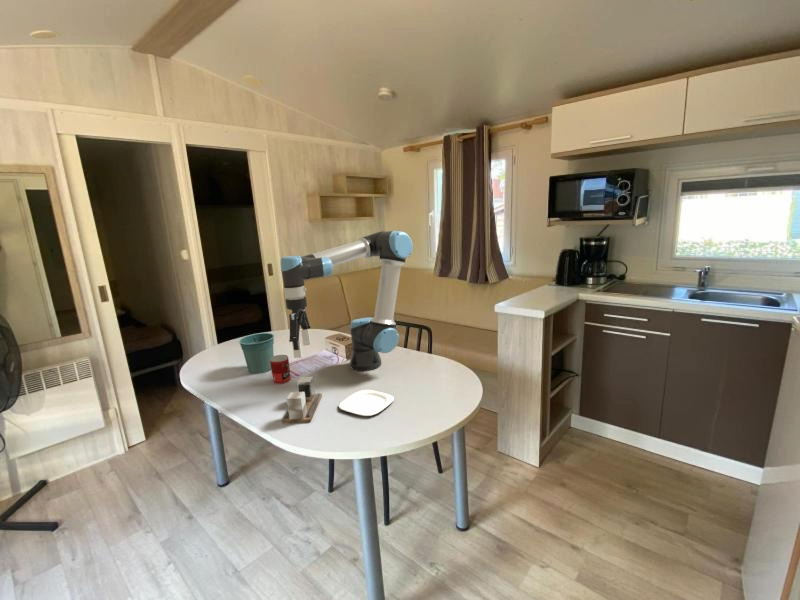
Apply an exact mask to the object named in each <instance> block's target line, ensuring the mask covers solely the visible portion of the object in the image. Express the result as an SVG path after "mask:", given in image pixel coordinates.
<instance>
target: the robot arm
mask: <svg viewBox="0 0 800 600" xmlns="http://www.w3.org/2000/svg"><path fill="white" fill-rule="evenodd" d="M413 248H414V247H413V240H412V239H411V237H410V236H409V235H408V233H406V232H404V231H399V230H390V231H388V230H385V231H383V230H382V231H377V232H374V233H371V234H369V235H365V236H363V237H359V238H358V239H357V240H356V241H354V242H352V241H351V242H349V243H345V244H343V245H339V246H334V247H331V248H327V249H324V250H321V251H318V252H314V253H311V254H307V255H303V256H300V255H288V256H282V257H281V259H280V271H281V277H282V283H283V292H284V298H285V307H286V309H287V310H290V311H291V313H290V314H289V315H288V316H289V340H288V341H289V343H291V344H292V345H291V346H292V351H293V358H294V359H300V358H303V354H302V353H303V352H302V345H303V346H304V347H305V346H311V339H310V332H309V330H310V329H311V326H310V320H309V317H308V315H307V311H306V307H307V306H308V301H307V297H306V296H307V295H306V294H307V293H306V291H307V288H306V287H305V280H306V281H307V280H311V279H320V278H325V277H329V276H331V275H332V274H333V270H334V266H338V265H341V264H344V263H347V262H351V261H354V260H357V259H361V258H364V259H367V258H368V259H369V258H371V257H373V258H374V257H379V258H378V259H379V262H380V263H381V268H380V269H381V270H380V276H379V282H378V288H377V289H378V290H377V296H376V302H375V308H374V315H373V317H369V316H368V317H362V318H356V319H354V320H352V321H351V322H350V326H349V327H350V329H349V330H350V337H351V339H350V340H351V347H352V351H351V356H350V360H349V365H350V369H352V370H354V371H365V372H366V371H373V370H375V369H378V368H379V367H380V366H381V365H382V358H381V355H380V353H381V354H388V353H391V352H392V351H393V350H394V349H396V347H397V346H398V344H399V341H400V340H399V339H400V336H399V335H400V334H399V332H398V330H396V326H397V325H396V324H397V323H396V322H395V320H394V315H395V310H396V309H395V308H396V303H397V296H398V289H399V282H400V278H401V277H400V275H401V270H402V266H404V265H405V264H406V259H407V258H409V257H410V256H411V254H412V252H413V250H414V249H413ZM300 328H301V331H300ZM300 332H301V337H302V345H301V340H300Z"/></svg>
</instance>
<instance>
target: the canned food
mask: <svg viewBox="0 0 800 600" xmlns="http://www.w3.org/2000/svg"><path fill="white" fill-rule="evenodd" d="M289 360H290V359H289V356H288V354H276V355H274V356H273V357H271V358H270V364H271V370H270V371H271V375H272V376H271V377H272V381H273V383H274V384H278V385H279V384H280V385H282V384H285V383H288V382H290V380H291V379H292V377H291V376H292V375H291V367H290V361H289Z"/></svg>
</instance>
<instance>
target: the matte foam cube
mask: <svg viewBox="0 0 800 600" xmlns="http://www.w3.org/2000/svg"><path fill="white" fill-rule="evenodd" d="M296 385H297V392H305V399H306V401H312V400H313V398H314V397H315V394H316V389H315V383H314V376H300V377H299V379H298V380H297V383H296Z"/></svg>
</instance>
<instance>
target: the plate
mask: <svg viewBox="0 0 800 600" xmlns="http://www.w3.org/2000/svg"><path fill="white" fill-rule="evenodd" d="M394 400H395V397H394V396H393V395H391V394H389V393H385V392H382V391H378V390H373V389H362V390H361V389H360V390H358V391H356V392H354V393H352V394H350V395H349V396H348V397H346V398H344V399H343V400H342V401H341V402H339V404H338V408H339V409H340V410H342V411H344V412H347V413H349V414H352V415H356V416H361V417H373V416H375V415H377V414H379V413H381V412H383V410H385V409H386V408H387V407H389V406H390V405H391V404H392V403H393V402H394Z"/></svg>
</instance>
